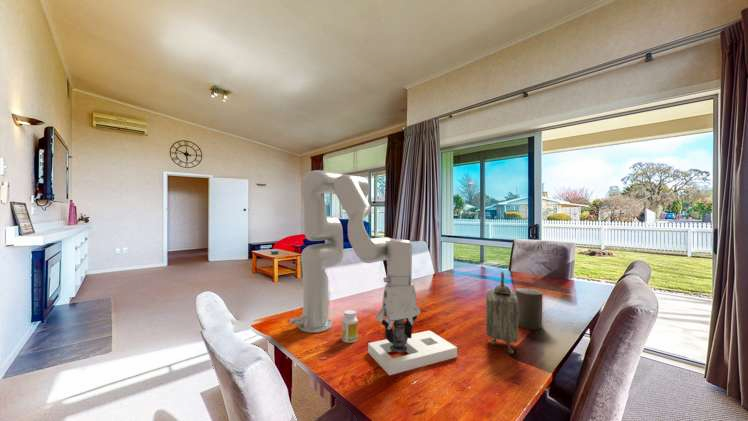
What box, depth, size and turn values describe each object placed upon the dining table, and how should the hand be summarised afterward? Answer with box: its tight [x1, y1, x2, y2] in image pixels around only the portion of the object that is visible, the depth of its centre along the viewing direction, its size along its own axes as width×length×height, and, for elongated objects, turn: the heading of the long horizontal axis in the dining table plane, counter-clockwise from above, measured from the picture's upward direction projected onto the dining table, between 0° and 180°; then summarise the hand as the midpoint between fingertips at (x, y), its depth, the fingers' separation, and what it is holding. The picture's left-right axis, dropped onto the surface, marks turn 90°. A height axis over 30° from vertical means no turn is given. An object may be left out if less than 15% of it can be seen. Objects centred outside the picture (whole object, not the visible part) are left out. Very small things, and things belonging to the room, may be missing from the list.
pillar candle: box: [515, 287, 543, 331], centre depth 117 cm, size 10×10×15 cm
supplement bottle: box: [341, 309, 359, 344], centre depth 102 cm, size 5×5×10 cm
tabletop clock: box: [485, 271, 519, 355], centre depth 99 cm, size 14×9×25 cm, turn 160°
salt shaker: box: [390, 319, 408, 353], centre depth 89 cm, size 6×6×12 cm
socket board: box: [367, 330, 458, 376], centre depth 92 cm, size 24×14×3 cm, turn 116°
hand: (398, 338), depth 90 cm, fingers closed on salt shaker, 5 cm apart
